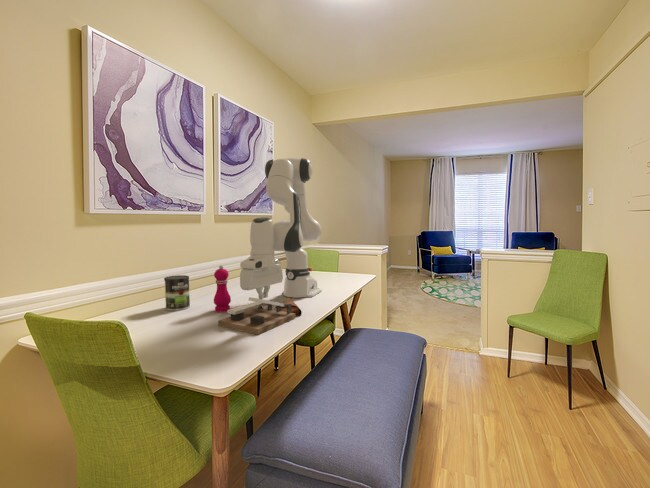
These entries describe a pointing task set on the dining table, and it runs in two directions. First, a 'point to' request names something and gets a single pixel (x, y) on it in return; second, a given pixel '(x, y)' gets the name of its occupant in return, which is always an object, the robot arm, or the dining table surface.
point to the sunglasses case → (292, 307)
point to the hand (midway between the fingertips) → (263, 298)
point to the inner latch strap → (245, 308)
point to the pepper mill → (221, 290)
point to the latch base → (257, 329)
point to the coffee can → (177, 292)
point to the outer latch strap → (267, 302)
